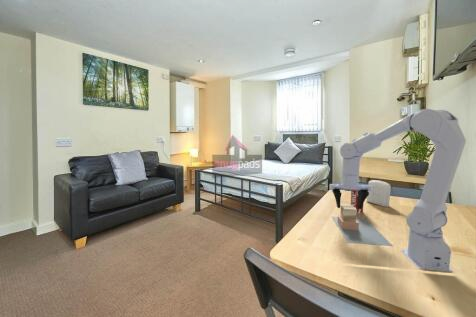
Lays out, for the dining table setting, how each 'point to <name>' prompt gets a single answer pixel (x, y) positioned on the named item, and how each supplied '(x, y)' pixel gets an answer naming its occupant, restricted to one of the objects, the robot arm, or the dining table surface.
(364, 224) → the blue-grey rectangular mat
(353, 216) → the maple block
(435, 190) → the robot arm
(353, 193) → the soda can
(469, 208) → the dining table surface
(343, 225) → the base block
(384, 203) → the photo printer
